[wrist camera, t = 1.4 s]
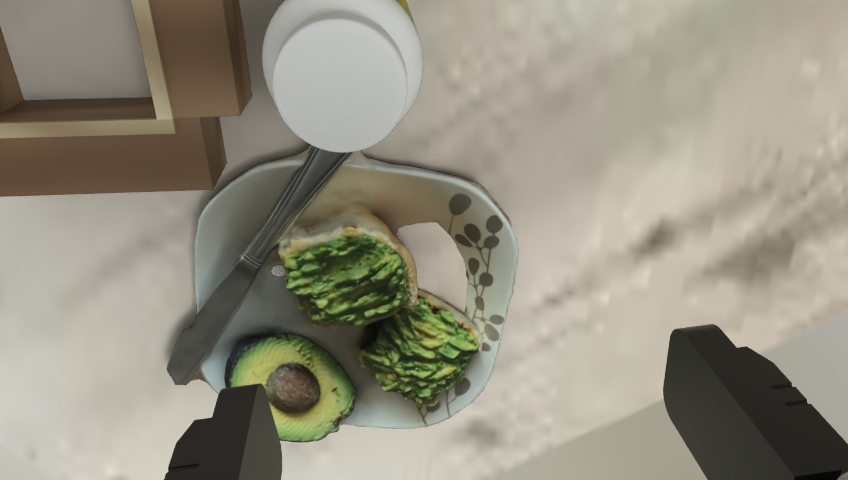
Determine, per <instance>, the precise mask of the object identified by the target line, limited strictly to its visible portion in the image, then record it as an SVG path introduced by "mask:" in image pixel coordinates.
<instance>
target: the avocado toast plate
mask: <svg viewBox="0 0 848 480" xmlns="http://www.w3.org/2000/svg"><path fill="white" fill-rule="evenodd" d="M427 222H437V223H439V224H440V226H441V227H442V228H443V229H444V230H445V231H446V232H447V233H448V234H449V235H450V236H451V237H452V239H453V240H454V242H455V243H456V245H457V248H458V250H459V252H460V253H461V255H462V257H463V259H464V262H465V266H466V276H467V278H468V289H467V301H466V309H465V312H464V314H462V313H461V312H459V311H458V310H456V309H455V308H453V306H451V305H450V304H448V303H445V302H444V301H443V300H441V299H439V298H437V297H435V296H433V295H431V294H429V293H426V292H424V291H422V290H420V289H418V288H417V272H416V265H415V261H414V259H413V256H412V255H411V253H410V252H409V251H408V249H407V248H406V247H405V246H404V245H403V244H402V242H401V241H400V240H399V239H398V238H397V235H396V233H397V230H398V229H399V228H401V227H403V226H405V225H412V224H416V223H427ZM197 225H198V226H197V230H196V237H195V244H194V259H195V295H196V304H197V314H196V319H195V321H194V323H193V324H192V325H191V326H190V327H189V328H187V329H186V330H184V331H183V333H182V335H181V337H180V338H179V340H178V342H177V344H176V345H175V347H174V350H173V352H172V354H171V357H170V359H169V362H168V365H167V371H168V373H169V375H170V376H171V377H172V379H173V381H174V383H175V385H187V384H188V383H189V382H190V381H192V380H197V379H200V380H203V381H205V382H206V383H208V384H209V385H210V386H211V387H212V388H213V389H214V390H215V391H216V392H217V393H218V394H219V393H220V391H221V389H223V388H230V387H237V386H245V385H252V384H260V383H261V384H263V386H264V388H265V390H266V393H267V397H268V400H269V404H270V407H271V411H272V414H273V418H274V421H275V425H276V428H277V432H278V435H279V439H280V440H281V441H290V442H311V441H319V440H321V439H323V438H325V437H326V436H327V435H328V434H329V433H333V432H337V431H338V430H339V425H343V424H346V425H354V426H361V427H379V428H394V429H406V428H419V427H426V426H430V425H433V424H436V423H439V422H442V421H444V420H446V419H448V418H450V417H452V416H453V415H454V414H456V413H458V412H459V411H461V410H462V409H463V408H465V407H466V406H467V405H468V404H470V403H472V402H473V401H474V400H475V399H476V397H477V396H478V395H479V394H480V393H481V392H482V391H483V389H484V387H485V385H486V383H487V381H488V380H489V378H490V376H491V373H492V370H493V367H494V363H495V360H496V357H497V353H498V349H499V345H500V340H501V335H502V330H503V326H504V322H505V318H506V315H507V310H508V305H509V302H510V299H511V297H512V295H513V285H514V283H515V274H516V266H517V262H518V255H519V249H518V244H517V239H516V237H515V235H514V233H513V230H512V227H511V222H510V219H509V217H508V216H507V215H506V214H505V213H504V212H503V210H502V209H501V208H500V207H499V205H498V204H497V202H496V201H495V200H494V199H493V198H492V197H491V195H490V194H489V193H488V191H487V190H486V189H485V188H484V187H482V186H481V185H480V184H478V183H475V182H473V181H470V180H467V179H464V178H462V177H457V176H452V175H448V174H444V173H440V172H436V171H431V170H427V169H422V168H417V167H411V166H406V165H394V164H389V163H385V162H382V161H378V160H374V159H370V158H367V157H366V156H364V155H363V154H362V152H361V150H358V151H354V152H344V153H342V152H332V151H327V150H323V149H320V148H317V147H315V146H313V145H311V146H310V147H309V148H308V149H307V150H306V151H304V152H302V153H300V154H298V155H295V156H290V157H286V158H284V159H281V160H274V161H270V162H266V163H263V164H259V165H256V166H255V167H253V168H251V169H250V170H249V171H248V172H246V173H244V174H242V175H241V176H239V177H238V178H236V179H235V180H233V181H232V182H231V183H229V184H228V185H227V186H226V187H224V188H223V189H222V190H221V191H220V192H219V193H218V194H217V195H215V196H214V197H213V198H212V199H211V200H210V201H209V202H208V204H207V205H206V207H205V208H204V210H203V211H202V213H201V215H200V217H199V219H198V224H197ZM276 265H283V266H284V267H285V270H286V274H285V275H284V276H280V277H278V276H275V275H273V274H272V273H271V270H272V268H273V267H274V266H276Z"/></svg>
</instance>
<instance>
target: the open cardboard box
mask: <svg viewBox="0 0 848 480" xmlns="http://www.w3.org/2000/svg"><path fill="white" fill-rule="evenodd" d="M131 3H132V8H133V12H134V17H135V21H136V26H137V30H138V35H139V40H140V44H141V49H142V53H143V58H144V62H145V67H146V71H147V76H148V80H149V85H150V90H151V94H152V98H111V99H66V100H23V97H22V94H21V91H20V88H19V85H18V82H17V78H16V75H15V72H14V69H13V66H12V63H11V60H10V57H9V54H8V51H7V48H6V45H5V42H4V38H3V35H2V32H1V29H0V197H4V196H34V195H64V194H95V193H125V192H155V191H186V190H213V188H214V186H215V185H216V183H217V181H218V179H219V177H220V175H221V173H222V171H223V170H224V168H225V166H226V164H227V161H226V155H225V149H224V143H223V137H222V131H221V125H220V120H219V117H221V116H240V115H241V113H242V112H243V110H244V108H245V106H246V105H247V103H248V101H249V100H250V98H251V96H252V91H251V84H250V77H249V70H248V63H247V55H246V48H245V41H244V34H243V27H242V19H241V12H240V5H239V0H131Z"/></svg>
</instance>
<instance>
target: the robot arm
mask: <svg viewBox="0 0 848 480" xmlns="http://www.w3.org/2000/svg"><path fill="white" fill-rule="evenodd" d="M663 395H664V401H665V405H666V409H667V412H668V415H669V417H670V419H671V421H672V422H673V424H674V425H675V427H676V429H677V430H678V432H679V434H680V435H681V437H682V438H683V440H684V441H685V443H686V445H687V447H688V448H689V450H690V452H691V453H692V455H693V456H694V458H695V460H696V461H697V463H698V464H699V466H700V468H701V469H702V471H703V473H704V474H705V476H706V477H707V479H708V480H848V444H847V443H846V442H845V441H844V440H843V438H842V437H841V436H840V435H839V434H838V433H837V432H836V431H835V430H834V429H833V428H832V427H831V425H829V423H828V422H827V421H826V420H825V419H824V418H823V417H822V416H821V414H820V413H819V412H818V411H817V410H816V409H815V408H814V407H813V406H812V405H811V404H808V403H807V399H806V398H805V397H804V396H803V395H802V394H801V393H800V392H799V390H797V388H796V387H792V383H791V382H790V381H789V380H788V379H787V378H786V376H785V375H784V374H783V373H782V372H781V371H780V370H779V369H778V367H777V366H776V365H775V364H774V363H772V362H771V361H769V360H768V359H766V358H765V357H763V356H761V355H760V354H758V353H756V352H755V351H753V350H751V349H750V348H748V347H740V348H736V346H735V345H734V344H733V343H732V342H731V341H730V340H729V338H728V337H727V336H726V335H725V334H724V333H723V331H722V330H721V329H720V328H719V327H718V326H716V325H714V324H710V325H702V326H695V327H687V328H680V329H675V330H673V332H672V333H671V336H670V342H669V349H668V356H667V364H666V371H665V379H664V386H663ZM281 474H282V452H281V444H280V439H279V435H278V432H277V428H276V425H275V421H274V418H273V414H272V411H271V407H270V404H269V400H268V397H267V393H266V390H265V388H264V386H263V384H261V383H260V384H252V385H245V386H237V387H230V388H223V389H221V391H220V393H219V395H218V399H217V402H216V406H215V409H214V413H213V417H212V418H207V419H199V420H195V421H194V422H193V423H192V424H191V426H190V427H189V428H188V429H187V430H186V432H185V433H184V434H183V435H182V437H181V438H180V439H179V440H178V442H177V443H176V446H175V449H174V452H173V455H172V458H171V461H170V464H169V467H168V473H166V476H165V479H164V480H281Z"/></svg>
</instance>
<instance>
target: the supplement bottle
mask: <svg viewBox="0 0 848 480" xmlns="http://www.w3.org/2000/svg"><path fill="white" fill-rule="evenodd" d="M262 64H263V72H264V77H265V80H266V84H267V87H268V89H269V92H270V94H271V96H272V98H273V100H274V101H275V103H276V106H277V109H278V111H279V113H280V115H281V117H282V118H283V120H284V121H285V123H286V124H287V126H288V127H289V128H290V129H291V130H292V131H293V132H294V133H295V134H296V135H297V136H298V137H300V138H301V139H302V140H304V141H305V142H307V143H309V144H311V145H313V146H315V147H317V148H320V149H323V150H327V151H332V152H342V153H344V152H354V151H358V150H363V149H365V148H368V147H370V146H372V145H374V144H376V143H378V142H379V141H381V140H382V139H383V138H385V137H386V136H387V135H388V134H389V133H390V132H391V131H392V130H393V129H394V127H395V126H396V124H397V123H398V122H399V121H401V120H402V119H403V117H404V116H405V115H406V114H407V112H408V111H409V110H410V108H411V106H412V105H413V103H414V101H415V99H416V97H417V94H418V92H419V89H420V86H421V81H422V74H423V55H422V47H421V42H420V38H419V35H418V32H417V29H416V27H415V25H414V22H413V19H412V16H411V13H410V10H409V7H408V5H407V3H406V1H405V0H285V1H284V2H283V3H282V4H281V5H280V7H279V8H278V9H277V11H276V13H275V14H274V16H273V17H272V19H271V21H270V23H269V26H268V28H267V31H266V34H265V38H264V42H263V49H262Z"/></svg>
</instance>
